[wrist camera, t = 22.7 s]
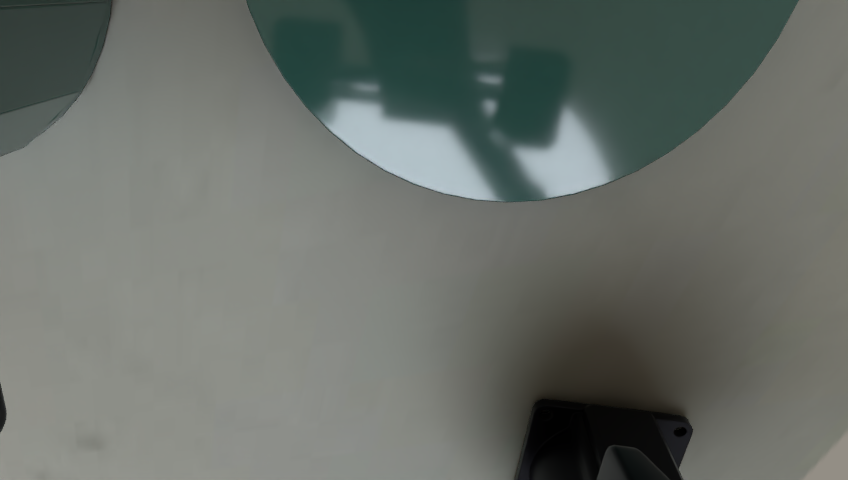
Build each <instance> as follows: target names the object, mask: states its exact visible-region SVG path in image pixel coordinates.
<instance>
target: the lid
mask: <svg viewBox="0 0 848 480" xmlns="http://www.w3.org/2000/svg"><path fill="white" fill-rule="evenodd" d="M246 1H247V5H248V8H249V10H250V13H251V15H252V17H253V20H254V22H255V24H256V26H257V29H258V31H259V33H260V36H261V38H262V40H263V43H264V45H265V46H266V48H267V50H268V52H269V53H270V55H271V57H272V58H273V60H274V62H275V64H276V65H277V67H278V69H279V70H280V72H281V74H282V76H283V77H284V79H285V80H286V81H287V83H288V84H289V85H290V87H291V88H292V89H293V91H294V92H295V93H296V95H297V96H298V97H299V99H300V100H301V101H302V103H303V104H304V105H305V106H306V107H307V108H308V110H309V111H310V112H311V113H312V114H313V115H314V116H315V117H316V118H317V119H318V120H319V121H320V122H321V123H322V124H323V125H324V126H325V127H326V128H327V129H328V130H329V131H330V132H331V133H332V134H333V135H335V136H336V137H337V138H338V139H339V140H341V141H342V142H343V143H344V144H346V145H347V146H348V147H349V148H350V149H352V150H353V151H354V152H355V153H357V154H358V155H360V156H362V157H363V158H365V159H366V160H368V161H370V162H371V163H373V164H374V165H376V166H378V167H379V168H381V169H382V170H384V171H386V172H388V173H390V174H392V175H395V176H397V177H399V178H401V179H403V180H405V181H407V182H410V183H412V184H414V185H417V186H420V187H423V188H426V189H430V190H433V191H436V192H439V193H442V194H446V195H451V196H456V197H461V198H467V199H472V200H480V201H495V202H522V201H539V200H546V199H551V198H557V197H562V196H568V195H573V194H577V193H580V192H583V191H586V190H590V189H593V188H596V187H599V186H603V185H606V184H608V183H610V182H613V181H615V180H617V179H620V178H622V177H624V176H626V175H629V174H631V173H633V172H636V171H638V170H640V169H641V168H643V167H645V166H646V165H648V164H650V163H652V162H653V161H655V160H657V159H659V158H660V157H662V156H664V155H665V154H667V153H669V152H670V151H672V150H673V149H674V148H676V147H677V146H678V145H680V144H681V143H682V142H684V141H685V140H686V139H688V138H689V137H690V136H692V135H693V134H694V133H696V132H697V131H699V130H700V129H701V128H702V127H703V126H704V125H705V124H706V123H707V122H708V121H709V120H710V119H712V118H713V117H714V116H715V115H716V114H717V113H718V112H719V111H720V110H721V109H722V108H723V107H724V106H726V105H727V104H728V103H729V101H730V100H731V99H732V98H733V97H734V96H735V94H736V93H737V92H738V91H739V90H740V89H741V88H742V86H743V85H744V84H745V83H746V82H747V81H748V79H749V78H750V77H751V76H752V75H753V74H754V72H755V71H756V69H757V68H758V67H759V65H760V64H761V62H762V61H763V59H764V58H765V57H766V55H767V54H768V52H769V51H770V49H771V48H772V46H773V45H774V44H775V42H776V41H777V39H778V37H779V36H780V34H781V32H782V30H783V28H784V26H785V25H786V23H787V21H788V19H789V17H790V15H791V14H792V12H793V10H794V8H795V6H796V4H797V3H798V1H799V0H246Z"/></svg>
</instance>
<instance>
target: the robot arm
mask: <svg viewBox="0 0 848 480" xmlns="http://www.w3.org/2000/svg"><path fill="white" fill-rule="evenodd" d="M544 410H548V411H549V412H548V413H545V414H543V413H541V412H542V411H544ZM6 414H7V413H6V407H5V402H4V398H3V393H2V388H1V384H0V432H1V431H2V429H3V427H4V424H5V421H6ZM678 427H682V428H681V429H679V430H675V429H676V428H678ZM692 432H693V429H692V426H691V424H690V423H689V421H688V419H687V418H685V417H683V416H680V415H672V414H664V413H656V412H649V411H641V410H633V409H625V408H617V407H609V406H601V405H591V404H583V403H575V402H567V401H559V400H551V399H541V400H538V401H537V402H536V403H534V405H533V407H532V411H531V415H530V419H529V424H528V428H527V432H526V436H525V440H524V444H523V449H522V453H521V457H520V461H519V465H518V469H517V473H516V478H515V480H683V478H682V476H681V473H680V471H679V466H680V464H681V461H682V459H683V456H684V454H685V451H686V448H687V446H688V443H689V441H690V438H691V436H692Z"/></svg>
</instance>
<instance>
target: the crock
mask: <svg viewBox="0 0 848 480" xmlns="http://www.w3.org/2000/svg"><path fill="white" fill-rule="evenodd" d="M110 11H111V0H0V156H3V155H5V154H8V153H11V152H13V151H16V150H19V149H21V148H24V147H25V146H27V145H28V144H29V143H30V142H31V141H32V140H33V139H34V138H35V137H36V136H38V135H40V134H41V133H43V132H44V131H45V130H46V129H48V128H49V127H50V126H51V125H52V124H53V123H55V122H56V121H57V120H58V119H59V118H61V117H62V116H63V114H64V113H65V112H66V111H67V110H68V108H69V107H70V106H71V105H72V104H73V102H74V101H75V100H76V99H77V98H78V97H79V95H80V93H81V91H82V90H83V88H84V86H85V85H86V83H87V81H88V80H89V78H90V76H91V74H92V73H93V70H94V68H95V65H96V63H97V60H98V57H99V55H100V52H101V50H102V47H103V44H104V40H105V35H106V31H107V27H108V23H109V18H110Z"/></svg>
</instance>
